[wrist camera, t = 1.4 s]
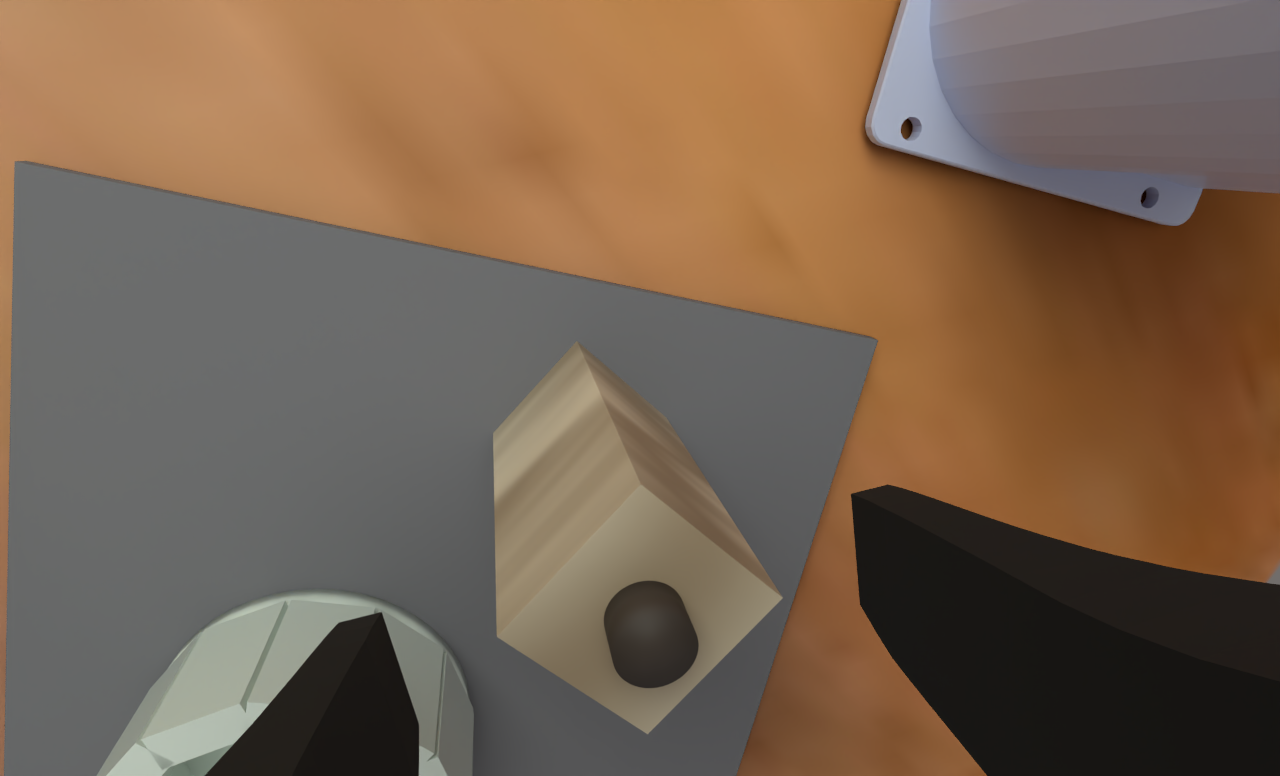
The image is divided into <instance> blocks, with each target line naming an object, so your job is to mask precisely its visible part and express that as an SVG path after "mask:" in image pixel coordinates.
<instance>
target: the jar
mask: <svg viewBox="0 0 1280 776" xmlns="http://www.w3.org/2000/svg"><path fill="white" fill-rule="evenodd" d="M379 612H382V614H383V617H384V620H385V623H386V626H387V629H388V632H389V635H390V638H391V641H392V644H393V647H394V650H395V653H396V656H397V659H398V662H399V665H400V668H401V671H402V674H403V677H404V680H405V683H406V686H407V689H408V692H409V695H410V698H411V701H412V704H413V707H414V710H415V713H416V716H417V719H418V722H419V776H472V773H473V731H474V713H473V706H472V704H471V702H470V695H469V690H468V685H467V680H466V677H465V675H464V672H463V669H462V667H461V664H460V663H459V661H458V659H457V657H456V656H455V654H454V652H453V651H452V649H451V648H450V647H449V645H448V644H447V643H446V642H445V640H444V639H443V638H442V637H441V636H440V635H439V634H438V633H437V632H436V631H435V630H434V629H433V628H432V627H431V626H430V625H428V624H427V623H425V622H424V621H423V620H421V619H420V618H418V617H417V616H416V615H414V614H412V613H410V612H409V611H407V610H405V609H403V608H401V607H399V606H398V605H395V604H392V603H390V602H387V601H385V600H382V599H380V598H376V597H373V596H369V595H365V594H362V593H357V592H350V591H343V590H333V589H307V590H294V591H288V592H282V593H277V594H272V595H268V596H265V597H262V598H258V599H255V600H252V601H249V602H247V603H245V604H242V605H240V606H237V607H235V608H233V609H231V610H229V611H227V612H226V613H224V614H222V615H220V616H219V617H217V618H215V619H214V620H212V621H211V622H210V623H208V624H207V625H206V626H204V627H203V628H202V629H200V630H199V631H198V632H197V633H196V634H195V635H194V636H193V637H192V638H191V639H190V640H189V641H188V642H187V643H186V644H185V645H184V646H183V647H182V649H181V650H180V651H179V653H178V654H177V655H176V657H175V658H174V659H173V661H172V662H171V664H170V666H169V667H168V669H167V670H166V671H165V672H164V673H163V675H162V676H161V677H160V678H159V679H158V680H157V681H156V683H155V684H154V685H153V686H152V687H151V688H150V690H149V691H148V693H147V695H146V696H145V698H144V699H143V701H142V703H141V704H140V706H139V708H138V709H137V711H136V712H135V714H134V716H133V717H132V719H131V721H130V722H129V724H128V725H127V727H126V729H125V730H124V732H123V734H122V735H121V737H120V738H119V740H118V742H117V743H116V745H115V746H114V748H113V750H112V751H111V753H110V755H109V756H108V758H107V759H106V761H105V763H104V764H103V766H102V768H101V769H100V771H99V772H98V774H97V776H205V775H206V773H207V772H208V771H209V770H210V769H211V768H212V767H213V766H214V765H215V764H216V763H217V762H218V760H219V759H220V758H221V757H222V756H223V755H224V754H225V753H226V752H227V751H228V750H229V749H230V747H231V746H232V745H233V744H234V743H235V742H236V741H237V740H238V739H239V738H240V737H241V736H242V734H243V733H244V732H245V731H246V730H247V729H248V728H249V727H250V726H251V725H252V724H253V722H254V721H255V720H256V719H257V718H258V717H259V715H260V714H261V713H262V712H263V711H264V710H265V708H266V707H267V706H268V705H269V704H270V702H271V701H272V700H273V699H274V698H275V697H276V695H277V694H278V693H279V692H280V691H281V689H282V688H283V687H284V686H285V685H286V684H287V682H288V681H289V680H290V679H291V678H292V676H293V675H294V674H295V673H296V672H297V670H298V669H299V668H300V667H301V666H302V664H303V663H304V662H305V661H306V660H307V658H308V657H309V656H310V655H311V654H312V652H313V651H314V650H315V649H316V648H317V646H318V645H319V644H320V643H321V642H322V640H323V639H324V638H325V637H326V636H327V635H328V633H329V632H330V631H331V630H332V629H333V628H334V627H335V626H336V625H337V624H338V623H339V622H343V621H347V620H351V619H355V618H359V617H363V616H367V615H371V614H375V613H379Z"/></svg>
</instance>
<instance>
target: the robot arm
mask: <svg viewBox="0 0 1280 776" xmlns="http://www.w3.org/2000/svg"><path fill="white" fill-rule="evenodd" d="M907 118H908V119H909V120H911V123H912V125H913V130H912V134H911V135H910V137H909V138H908V139H904V138H903V137H902V134H901V125H902V124H903V122H904V120H906V119H907ZM865 129H866V133H867V136H868V137H869V139H870V140H871V142H873V143H875V144H876V145H878V146H882V147H885V148H889V149H893V150H896V151H900V152H903V153H907V154H910V155H914V156H918V157H921V158H925V159H928V160H932V161H936V162H939V163H943V164H946V165H950V166H954V167H957V168H961V169H964V170H968V171H971V172H975V173H979V174H982V175H986V176H989V177H993V178H997V179H1000V180H1004V181H1007V182H1011V183H1014V184H1018V185H1022V186H1025V187H1029V188H1032V189H1036V190H1040V191H1043V192H1047V193H1050V194H1054V195H1058V196H1061V197H1065V198H1068V199H1072V200H1075V201H1079V202H1083V203H1086V204H1090V205H1093V206H1097V207H1101V208H1104V209H1108V210H1111V211H1115V212H1118V213H1122V214H1126V215H1129V216H1133V217H1136V218H1140V219H1144V220H1147V221H1151V222H1154V223H1158V224H1162V225H1170V226H1178V225H1180V224H1183V223H1184V222H1186V221H1187V220H1188V219H1189V218H1190V216H1191V215H1192V213H1193V211H1194V210H1195V207H1196V205H1197V202H1198V200H1199V198H1200V195H1201V193H1202V190H1203V188H1204V189H1219V190H1234V191H1249V192H1265V193H1280V0H901V3H900V7H899V10H898V13H897V17H896V20H895V24H894V27H893V30H892V34H891V37H890V40H889V44H888V47H887V50H886V54H885V57H884V60H883V64H882V67H881V70H880V74H879V77H878V81H877V84H876V87H875V91H874V94H873V97H872V101H871V104H870V107H869V111H868V114H867V117H866V124H865ZM1145 190H1146V193H1147V194H1146V199H1145V201H1144V202H1143V204H1141V195H1142V194H1143V192H1144V191H1145ZM851 498H852V511H853V523H854V535H855V547H856V560H857V572H858V584H859V597H860V605H861V607H862V609H863V610H864V612H865V614H866V615H867V617H868V619H869V621H870V622H871V624H872V626H873V627H874V629H875V631H876V632H877V634H878V636H879V637H880V639H881V641H882V642H883V644H884V645H885V647H886V648H887V650H888V652H889V653H890V655H891V656H892V658H893V659H894V661H895V662H896V663H897V664H898V666H899V667H900V668H901V670H902V671H903V672H904V673H905V675H906V676H907V677H908V678H909V680H910V681H911V682H912V683H913V685H914V686H915V687H916V688H917V690H918V691H919V692H920V693H921V695H922V696H923V697H924V698H925V700H926V701H927V702H928V703H929V705H930V706H931V707H932V708H933V710H934V711H935V712H936V713H937V714H938V716H939V717H940V718H941V719H942V721H943V722H944V723H945V724H946V725H947V727H948V728H949V729H950V730H951V732H952V733H953V734H954V735H955V737H956V738H957V739H958V740H959V741H960V743H961V744H962V745H963V746H964V748H965V749H966V750H967V751H968V753H969V754H970V755H971V756H972V757H973V759H974V760H975V761H976V762H977V764H978V765H979V766H980V767H981V768H982V770H983V771H984V772H985V773H986V775H987V776H1280V585H1276V584H1269V583H1262V582H1255V581H1249V580H1242V579H1236V578H1229V577H1223V576H1216V575H1209V574H1203V573H1198V572H1192V571H1187V570H1181V569H1176V568H1171V567H1166V566H1162V565H1157V564H1153V563H1148V562H1143V561H1139V560H1134V559H1130V558H1125V557H1121V556H1116V555H1112V554H1108V553H1104V552H1100V551H1096V550H1092V549H1089V548H1085V547H1082V546H1078V545H1075V544H1071V543H1068V542H1064V541H1061V540H1057V539H1054V538H1050V537H1047V536H1043V535H1040V534H1037V533H1034V532H1031V531H1028V530H1024V529H1021V528H1018V527H1015V526H1012V525H1009V524H1006V523H1003V522H1000V521H997V520H994V519H991V518H988V517H985V516H982V515H979V514H977V513H974V512H971V511H968V510H965V509H962V508H959V507H956V506H954V505H951V504H948V503H945V502H942V501H939V500H936V499H934V498H931V497H928V496H925V495H922V494H919V493H916V492H913V491H909V490H906V489H903V488H899V487H895V486H891V485H885V486H881V487H877V488H873V489H869V490H865V491H861V492H857V493H853V494H851ZM205 776H419V722H418V719H417V716H416V713H415V710H414V707H413V704H412V701H411V698H410V695H409V692H408V689H407V686H406V683H405V680H404V677H403V674H402V671H401V668H400V665H399V662H398V659H397V656H396V653H395V650H394V647H393V644H392V641H391V638H390V635H389V632H388V629H387V626H386V623H385V620H384V617H383V614H382V612H379V613H375V614H371V615H367V616H363V617H359V618H355V619H351V620H347V621H343V622H339V623H338V624H337V625H336V626H335V627H334V628H333V629H332V630H331V631H330V632H329V633H328V635H327V636H326V637H325V638H324V639H323V640H322V642H321V643H320V644H319V645H318V646H317V648H316V649H315V650H314V651H313V652H312V654H311V655H310V656H309V657H308V658H307V660H306V661H305V662H304V663H303V664H302V666H301V667H300V668H299V669H298V670H297V672H296V673H295V674H294V675H293V676H292V678H291V679H290V680H289V681H288V682H287V684H286V685H285V686H284V687H283V688H282V689H281V691H280V692H279V693H278V694H277V695H276V697H275V698H274V699H273V700H272V701H271V702H270V704H269V705H268V706H267V707H266V708H265V710H264V711H263V712H262V713H261V714H260V715H259V717H258V718H257V719H256V720H255V721H254V722H253V724H252V725H251V726H250V727H249V728H248V729H247V730H246V731H245V732H244V733H243V734H242V736H241V737H240V738H239V739H238V740H237V741H236V742H235V743H234V744H233V745H232V746H231V747H230V749H229V750H228V751H227V752H226V753H225V754H224V755H223V756H222V757H221V758H220V759H219V760H218V762H217V763H216V764H215V765H214V766H213V767H212V768H211V769H210V770H209V771H208V772H207V773H206V775H205Z"/></svg>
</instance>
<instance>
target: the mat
mask: <svg viewBox="0 0 1280 776" xmlns="http://www.w3.org/2000/svg"><path fill="white" fill-rule="evenodd" d="M576 341H578V342H579V343H580V344H581V345H582V346H583V347H585V348H586V349H587V350H588V351H589V352H590V353H592V354H593V355H594V356H595V357H596V358H597V359H599V360H600V361H601V362H602V363H603V364H604V365H606V366H607V367H608V368H609V369H610V370H611V371H613V372H614V373H615V374H616V375H617V376H618V377H620V378H621V379H622V380H623V381H624V382H625V383H627V384H628V385H629V386H630V387H631V388H632V389H634V390H635V391H636V392H637V393H638V394H639V395H641V396H642V397H643V398H644V399H645V400H646V401H648V402H649V403H650V404H651V405H652V406H653V407H655V408H656V409H657V410H658V411H659V412H660V413H662V414H663V415H664V416H665V417H666V418H667V419H668V421H669V423H670V424H671V426H672V427H673V429H674V430H675V432H676V433H677V435H678V436H679V438H680V440H681V441H682V443H683V444H684V446H685V447H686V449H687V450H688V452H689V453H690V455H691V457H692V458H693V460H694V461H695V463H696V464H697V466H698V467H699V469H700V470H701V472H702V474H703V475H704V477H705V478H706V480H707V481H708V483H709V484H710V486H711V488H712V489H713V491H714V492H715V494H716V495H717V497H718V498H719V500H720V501H721V503H722V505H723V506H724V508H725V509H726V511H727V512H728V514H729V515H730V517H731V518H732V520H733V522H734V523H735V525H736V526H737V528H738V529H739V531H740V532H741V534H742V535H743V537H744V539H745V540H746V542H747V543H748V545H749V546H750V548H751V549H752V551H753V552H754V554H755V556H756V557H757V559H758V560H759V562H760V563H761V565H762V566H763V568H764V570H765V571H766V573H767V574H768V576H769V577H770V579H771V580H772V582H773V583H774V585H775V587H776V588H777V590H778V591H779V593H780V594H781V596H782V597H783V598H782V599H781V600H780V601H779V602H778V603H777V604H776V605H775V606H774V607H773V608H772V609H771V611H770V612H769V613H768V614H767V615H766V616H765V617H764V618H763V619H762V620H761V621H760V622H759V623H758V624H757V625H756V626H755V627H754V628H753V629H752V630H751V631H750V632H749V633H748V634H747V635H746V636H745V637H744V638H743V639H742V640H741V641H740V642H739V643H738V644H737V645H736V646H735V647H734V648H733V649H732V650H731V651H730V652H729V653H728V654H727V655H726V656H725V657H724V658H723V659H722V660H721V661H720V662H719V663H718V664H717V665H716V666H715V667H714V668H713V669H712V670H711V671H710V672H709V673H708V674H707V675H706V676H705V677H704V678H703V679H702V680H701V681H700V682H699V683H698V684H697V685H696V686H695V687H694V688H693V689H692V690H691V691H690V692H689V693H688V694H687V695H686V696H685V697H684V698H683V699H682V700H681V701H680V702H679V703H678V704H677V705H676V706H675V707H674V708H673V709H672V710H671V711H670V712H669V713H668V714H667V715H666V716H665V717H664V718H663V719H662V720H661V721H660V722H659V723H658V724H657V725H656V726H655V727H654V728H653V729H652V730H651V731H650V732H649V733H648V734H646V733H645V732H643V731H642V730H640V729H639V728H637V727H636V726H634V725H632V724H631V723H629V722H628V721H626V720H625V719H623V718H622V717H620V716H619V715H617V714H615V713H614V712H612V711H611V710H609V709H608V708H606V707H605V706H603V705H601V704H600V703H598V702H597V701H595V700H594V699H592V698H591V697H589V696H588V695H586V694H584V693H583V692H581V691H580V690H578V689H577V688H575V687H574V686H572V685H571V684H569V683H567V682H566V681H564V680H563V679H561V678H560V677H558V676H557V675H555V674H554V673H552V672H550V671H549V670H547V669H546V668H544V667H543V666H541V665H540V664H538V663H536V662H535V661H533V660H532V659H530V658H529V657H527V656H526V655H524V654H523V653H521V652H519V651H518V650H516V649H515V648H513V647H512V646H510V645H509V644H507V643H506V642H504V641H502V640H501V639H499V638H498V637H497V624H496V569H495V514H494V459H493V433H494V432H495V430H496V429H497V428H498V427H499V426H500V425H501V424H502V423H503V422H504V421H505V419H506V418H507V417H508V416H509V415H510V414H511V413H512V412H513V411H514V410H515V408H516V407H517V406H518V405H519V404H520V403H521V402H522V401H523V400H524V399H525V397H526V396H527V395H528V394H529V393H530V392H531V391H532V390H533V389H534V387H535V386H536V385H537V384H538V383H539V382H540V381H541V380H542V379H543V378H544V376H545V375H546V374H547V373H548V372H549V371H550V370H551V369H552V368H553V367H554V365H555V364H556V363H557V362H558V361H559V360H560V359H561V358H562V357H563V356H564V354H565V353H566V352H567V351H568V350H569V349H570V348H571V347H572V346H573V345H574V343H575V342H576ZM877 342H878V340H876V339H874V338H872V337H870V336H865V335H860V334H856V333H851V332H846V331H841V330H836V329H832V328H827V327H822V326H817V325H812V324H807V323H803V322H798V321H793V320H788V319H783V318H779V317H774V316H769V315H764V314H759V313H755V312H750V311H745V310H740V309H735V308H731V307H726V306H721V305H716V304H711V303H707V302H702V301H697V300H692V299H687V298H683V297H678V296H673V295H668V294H663V293H658V292H654V291H649V290H644V289H639V288H634V287H630V286H625V285H620V284H615V283H610V282H606V281H601V280H596V279H591V278H586V277H582V276H577V275H572V274H567V273H562V272H558V271H553V270H548V269H543V268H538V267H534V266H529V265H524V264H519V263H514V262H509V261H505V260H500V259H495V258H490V257H485V256H481V255H476V254H471V253H466V252H461V251H457V250H452V249H447V248H442V247H437V246H433V245H428V244H423V243H418V242H413V241H409V240H404V239H399V238H394V237H389V236H385V235H380V234H375V233H370V232H365V231H360V230H356V229H351V228H346V227H341V226H336V225H332V224H327V223H322V222H317V221H312V220H308V219H303V218H298V217H293V216H288V215H284V214H279V213H274V212H269V211H264V210H260V209H255V208H250V207H245V206H240V205H236V204H231V203H226V202H221V201H216V200H211V199H207V198H202V197H197V196H192V195H187V194H183V193H178V192H173V191H168V190H163V189H159V188H154V187H149V186H144V185H139V184H135V183H130V182H125V181H120V180H115V179H111V178H106V177H101V176H96V175H91V174H87V173H82V172H77V171H72V170H67V169H62V168H58V167H53V166H48V165H43V164H38V163H34V162H29V161H15V174H14V232H13V289H12V347H11V405H10V462H9V520H8V577H7V635H6V692H5V750H4V776H97V774H98V772H99V771H100V769H101V768H102V766H103V764H104V763H105V761H106V759H107V758H108V756H109V755H110V753H111V751H112V750H113V748H114V746H115V745H116V743H117V742H118V740H119V738H120V737H121V735H122V734H123V732H124V730H125V729H126V727H127V725H128V724H129V722H130V721H131V719H132V717H133V716H134V714H135V712H136V711H137V709H138V708H139V706H140V704H141V703H142V701H143V699H144V698H145V696H146V695H147V693H148V691H149V690H150V688H151V687H152V686H153V685H154V684H155V683H156V681H157V680H158V679H159V678H160V677H161V676H162V675H163V673H164V672H165V671H166V670H167V669H168V667H169V666H170V664H171V662H172V661H173V659H174V658H175V657H176V655H177V654H178V653H179V651H180V650H181V649H182V647H183V646H184V645H185V644H186V643H187V642H188V641H189V640H190V639H191V638H192V637H193V636H194V635H195V634H196V633H197V632H198V631H199V630H200V629H202V628H203V627H204V626H206V625H207V624H208V623H210V622H211V621H212V620H214V619H215V618H217V617H219V616H220V615H222V614H224V613H226V612H227V611H229V610H231V609H233V608H235V607H237V606H240V605H242V604H245V603H247V602H249V601H252V600H255V599H258V598H262V597H265V596H268V595H272V594H277V593H282V592H288V591H294V590H307V589H333V590H343V591H350V592H357V593H362V594H365V595H369V596H373V597H376V598H380V599H382V600H385V601H387V602H390V603H392V604H395V605H398V606H399V607H401V608H403V609H405V610H407V611H409V612H410V613H412V614H414V615H416V616H417V617H418V618H420V619H421V620H423V621H424V622H425V623H427V624H428V625H430V626H431V627H432V628H433V629H434V630H435V631H436V632H437V633H438V634H439V635H440V636H441V637H442V638H443V639H444V640H445V642H446V643H447V644H448V645H449V647H450V648H451V649H452V651H453V652H454V654H455V656H456V657H457V659H458V661H459V663H460V664H461V667H462V669H463V672H464V675H465V677H466V680H467V685H468V690H469V695H470V702H471V704H472V706H473V713H474V731H473V773H472V776H736V775H737V772H738V769H739V765H740V762H741V759H742V756H743V753H744V750H745V747H746V744H747V741H748V738H749V735H750V732H751V729H752V726H753V722H754V719H755V716H756V713H757V710H758V707H759V704H760V701H761V698H762V695H763V692H764V689H765V686H766V683H767V680H768V676H769V673H770V670H771V667H772V664H773V661H774V658H775V655H776V652H777V649H778V646H779V643H780V640H781V637H782V633H783V630H784V627H785V624H786V621H787V618H788V615H789V612H790V609H791V606H792V603H793V600H794V597H795V594H796V590H797V587H798V584H799V581H800V578H801V575H802V572H803V569H804V566H805V563H806V560H807V557H808V554H809V551H810V548H811V544H812V541H813V538H814V535H815V532H816V529H817V526H818V523H819V520H820V517H821V514H822V511H823V508H824V505H825V501H826V498H827V495H828V492H829V489H830V486H831V483H832V480H833V477H834V474H835V471H836V468H837V465H838V462H839V459H840V455H841V452H842V449H843V446H844V443H845V440H846V437H847V434H848V431H849V428H850V425H851V422H852V419H853V416H854V412H855V409H856V406H857V403H858V400H859V397H860V394H861V391H862V388H863V385H864V382H865V379H866V376H867V373H868V369H869V366H870V363H871V360H872V357H873V354H874V351H875V348H876V345H877Z"/></svg>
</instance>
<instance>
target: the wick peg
mask: <svg viewBox="0 0 1280 776" xmlns="http://www.w3.org/2000/svg"><path fill="white" fill-rule="evenodd" d="M493 459H494V514H495V569H496V624H497V637H498V638H499V639H501V640H502V641H504V642H506V643H507V644H509V645H510V646H512V647H513V648H515V649H516V650H518V651H519V652H521V653H523V654H524V655H526V656H527V657H529V658H530V659H532V660H533V661H535V662H536V663H538V664H540V665H541V666H543V667H544V668H546V669H547V670H549V671H550V672H552V673H554V674H555V675H557V676H558V677H560V678H561V679H563V680H564V681H566V682H567V683H569V684H571V685H572V686H574V687H575V688H577V689H578V690H580V691H581V692H583V693H584V694H586V695H588V696H589V697H591V698H592V699H594V700H595V701H597V702H598V703H600V704H601V705H603V706H605V707H606V708H608V709H609V710H611V711H612V712H614V713H615V714H617V715H619V716H620V717H622V718H623V719H625V720H626V721H628V722H629V723H631V724H632V725H634V726H636V727H637V728H639V729H640V730H642V731H643V732H645V733H646V734H648V733H649V732H650V731H651V730H652V729H653V728H654V727H655V726H656V725H657V724H658V723H659V722H660V721H661V720H662V719H663V718H664V717H665V716H666V715H667V714H668V713H669V712H670V711H671V710H672V709H673V708H674V707H675V706H676V705H677V704H678V703H679V702H680V701H681V700H682V699H683V698H684V697H685V696H686V695H687V694H688V693H689V692H690V691H691V690H692V689H693V688H694V687H695V686H696V685H697V684H698V683H699V682H700V681H701V680H702V679H703V678H704V677H705V676H706V675H707V674H708V673H709V672H710V671H711V670H712V669H713V668H714V667H715V666H716V665H717V664H718V663H719V662H720V661H721V660H722V659H723V658H724V657H725V656H726V655H727V654H728V653H729V652H730V651H731V650H732V649H733V648H734V647H735V646H736V645H737V644H738V643H739V642H740V641H741V640H742V639H743V638H744V637H745V636H746V635H747V634H748V633H749V632H750V631H751V630H752V629H753V628H754V627H755V626H756V625H757V624H758V623H759V622H760V621H761V620H762V619H763V618H764V617H765V616H766V615H767V614H768V613H769V612H770V611H771V609H772V608H773V607H774V606H775V605H776V604H777V603H778V602H779V601H780V600H781V599H782V598H783V597H782V596H781V594H780V593H779V591H778V590H777V588H776V587H775V585H774V583H773V582H772V580H771V579H770V577H769V576H768V574H767V573H766V571H765V570H764V568H763V566H762V565H761V563H760V562H759V560H758V559H757V557H756V556H755V554H754V552H753V551H752V549H751V548H750V546H749V545H748V543H747V542H746V540H745V539H744V537H743V535H742V534H741V532H740V531H739V529H738V528H737V526H736V525H735V523H734V522H733V520H732V518H731V517H730V515H729V514H728V512H727V511H726V509H725V508H724V506H723V505H722V503H721V501H720V500H719V498H718V497H717V495H716V494H715V492H714V491H713V489H712V488H711V486H710V484H709V483H708V481H707V480H706V478H705V477H704V475H703V474H702V472H701V470H700V469H699V467H698V466H697V464H696V463H695V461H694V460H693V458H692V457H691V455H690V453H689V452H688V450H687V449H686V447H685V446H684V444H683V443H682V441H681V440H680V438H679V436H678V435H677V433H676V432H675V430H674V429H673V427H672V426H671V424H670V423H669V421H668V419H667V418H666V417H665V416H664V415H663V414H662V413H660V412H659V411H658V410H657V409H656V408H655V407H653V406H652V405H651V404H650V403H649V402H648V401H646V400H645V399H644V398H643V397H642V396H641V395H639V394H638V393H637V392H636V391H635V390H634V389H632V388H631V387H630V386H629V385H628V384H627V383H625V382H624V381H623V380H622V379H621V378H620V377H618V376H617V375H616V374H615V373H614V372H613V371H611V370H610V369H609V368H608V367H607V366H606V365H604V364H603V363H602V362H601V361H600V360H599V359H597V358H596V357H595V356H594V355H593V354H592V353H590V352H589V351H588V350H587V349H586V348H585V347H583V346H582V345H581V344H580V343H579V342H578V341H576V342H575V343H574V345H573V346H572V347H571V348H570V349H569V350H568V351H567V352H566V353H565V354H564V356H563V357H562V358H561V359H560V360H559V361H558V362H557V363H556V364H555V365H554V367H553V368H552V369H551V370H550V371H549V372H548V373H547V374H546V375H545V376H544V378H543V379H542V380H541V381H540V382H539V383H538V384H537V385H536V386H535V387H534V389H533V390H532V391H531V392H530V393H529V394H528V395H527V396H526V397H525V399H524V400H523V401H522V402H521V403H520V404H519V405H518V406H517V407H516V408H515V410H514V411H513V412H512V413H511V414H510V415H509V416H508V417H507V418H506V419H505V421H504V422H503V423H502V424H501V425H500V426H499V427H498V428H497V429H496V430H495V432H494V433H493Z"/></svg>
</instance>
